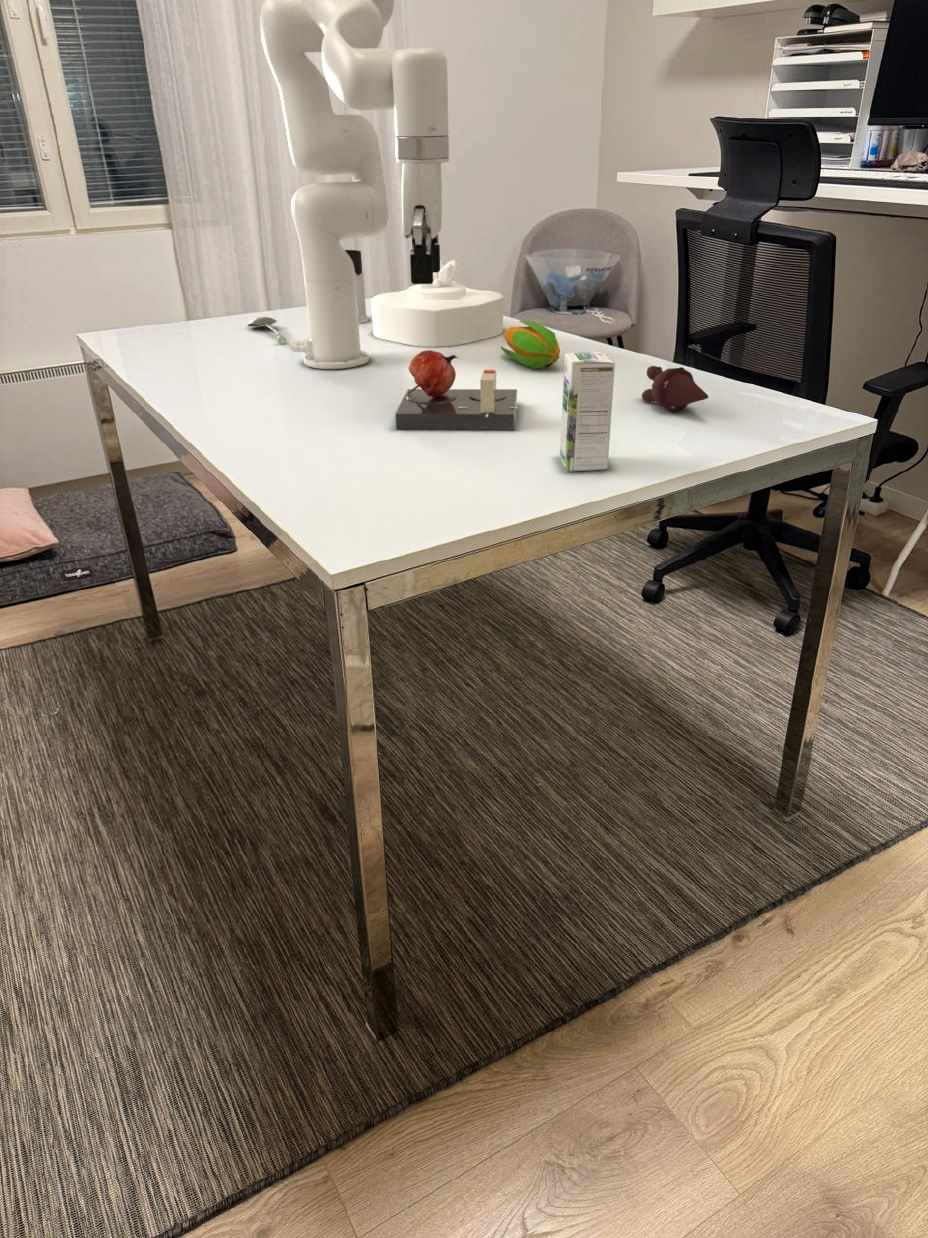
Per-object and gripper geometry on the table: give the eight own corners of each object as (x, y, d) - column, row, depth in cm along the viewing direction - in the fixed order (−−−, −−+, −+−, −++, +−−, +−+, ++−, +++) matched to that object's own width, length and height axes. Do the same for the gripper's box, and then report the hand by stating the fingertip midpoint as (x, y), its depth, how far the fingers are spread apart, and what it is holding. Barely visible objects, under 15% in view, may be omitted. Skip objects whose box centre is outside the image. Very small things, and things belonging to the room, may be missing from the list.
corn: (535, 331, 164) (489, 312, 180) (531, 375, 167) (487, 352, 184) (571, 330, 166) (523, 311, 183) (567, 373, 170) (520, 350, 186)
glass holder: (326, 324, 212) (319, 254, 205) (343, 312, 224) (337, 246, 217) (362, 324, 211) (357, 254, 204) (378, 312, 223) (374, 246, 216)
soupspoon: (274, 327, 213) (246, 331, 211) (272, 312, 212) (243, 316, 210) (297, 342, 195) (267, 346, 193) (295, 325, 194) (264, 330, 192)
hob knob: (494, 412, 139) (493, 378, 136) (480, 412, 139) (480, 377, 136) (496, 403, 143) (496, 369, 141) (483, 403, 143) (483, 369, 141)
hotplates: (403, 403, 144) (403, 402, 144) (410, 389, 151) (410, 388, 151) (505, 403, 143) (505, 402, 143) (507, 389, 150) (507, 388, 150)
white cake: (440, 316, 217) (438, 243, 210) (518, 330, 202) (519, 252, 194) (357, 333, 202) (351, 255, 194) (435, 350, 186) (432, 266, 179)
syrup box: (558, 458, 128) (562, 352, 121) (600, 456, 128) (606, 350, 121) (566, 472, 123) (570, 362, 116) (609, 470, 123) (616, 360, 116)
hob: (394, 433, 139) (393, 415, 138) (408, 404, 153) (407, 388, 152) (518, 433, 138) (518, 416, 137) (521, 404, 152) (521, 388, 150)
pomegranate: (410, 415, 146) (456, 380, 140) (384, 375, 145) (430, 338, 140) (430, 407, 152) (475, 373, 147) (406, 369, 151) (450, 334, 146)
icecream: (731, 375, 140) (668, 364, 152) (694, 369, 136) (632, 358, 149) (719, 421, 142) (658, 406, 154) (683, 416, 138) (623, 401, 151)
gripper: (404, 147, 138) (409, 267, 147) (386, 154, 123) (393, 288, 132) (454, 146, 138) (456, 268, 146) (442, 154, 123) (445, 288, 131)
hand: (426, 277), depth 139 cm, fingers open, 9 cm apart
